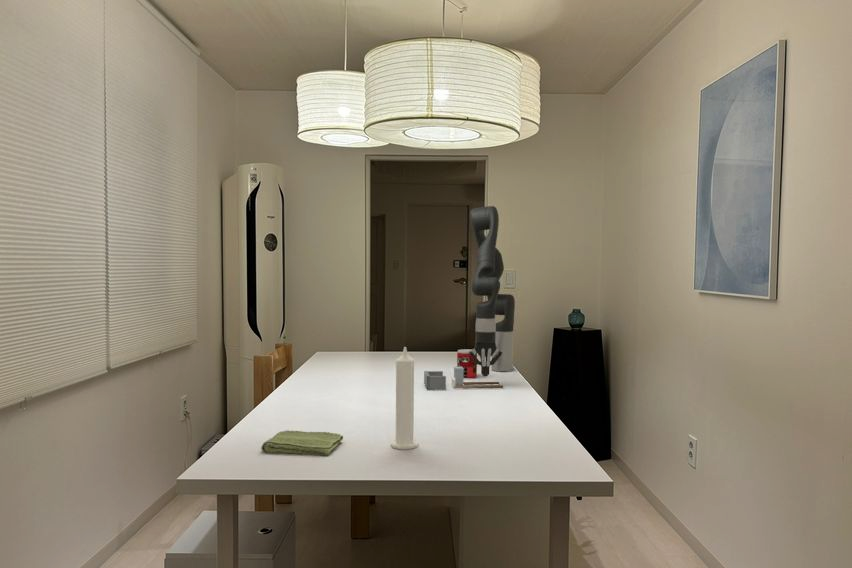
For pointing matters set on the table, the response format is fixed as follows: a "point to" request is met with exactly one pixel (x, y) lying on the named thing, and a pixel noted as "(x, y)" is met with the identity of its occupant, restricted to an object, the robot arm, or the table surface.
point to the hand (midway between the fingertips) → (485, 375)
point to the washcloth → (302, 443)
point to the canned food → (467, 363)
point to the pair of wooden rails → (479, 386)
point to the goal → (434, 380)
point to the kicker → (457, 377)
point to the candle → (404, 403)
